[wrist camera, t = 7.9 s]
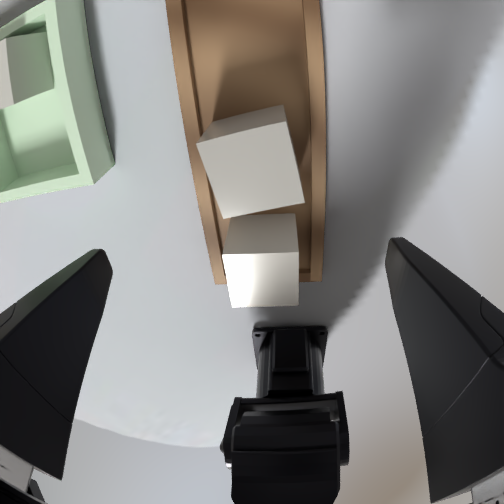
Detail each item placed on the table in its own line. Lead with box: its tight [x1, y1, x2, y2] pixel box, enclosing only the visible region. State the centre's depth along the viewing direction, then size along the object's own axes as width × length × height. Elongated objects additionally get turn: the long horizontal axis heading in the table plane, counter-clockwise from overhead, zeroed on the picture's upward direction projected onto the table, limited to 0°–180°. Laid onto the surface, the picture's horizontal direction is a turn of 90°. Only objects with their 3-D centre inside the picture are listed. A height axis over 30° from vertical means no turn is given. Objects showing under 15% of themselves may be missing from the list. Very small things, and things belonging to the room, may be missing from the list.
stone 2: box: [0, 32, 54, 110], centre depth 12 cm, size 4×4×4 cm
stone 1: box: [222, 213, 299, 307], centre depth 19 cm, size 4×4×4 cm
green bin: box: [0, 0, 115, 203], centre depth 15 cm, size 12×10×3 cm
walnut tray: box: [165, 0, 326, 284], centre depth 17 cm, size 20×8×1 cm, turn 5°
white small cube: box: [196, 105, 305, 219], centre depth 16 cm, size 4×4×4 cm
